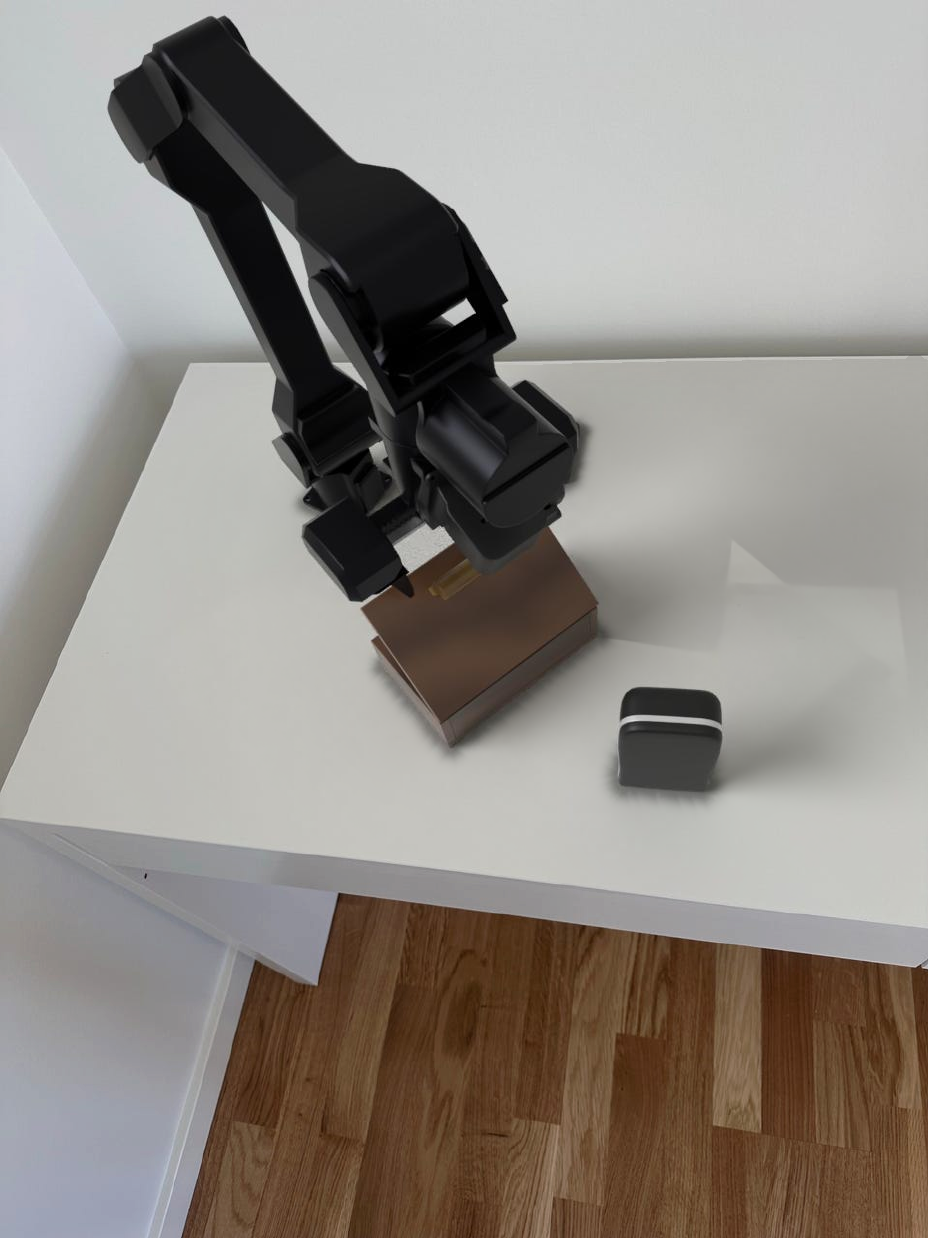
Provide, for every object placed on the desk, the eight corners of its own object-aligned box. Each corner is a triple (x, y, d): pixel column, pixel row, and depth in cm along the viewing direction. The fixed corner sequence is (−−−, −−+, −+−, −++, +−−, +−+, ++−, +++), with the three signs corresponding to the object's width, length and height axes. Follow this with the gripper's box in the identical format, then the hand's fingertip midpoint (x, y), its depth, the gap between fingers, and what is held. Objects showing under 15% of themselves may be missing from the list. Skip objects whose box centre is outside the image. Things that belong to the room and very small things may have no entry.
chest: (382, 667, 78) (370, 640, 73) (525, 563, 81) (521, 532, 77) (449, 748, 73) (440, 724, 69) (597, 635, 76) (597, 606, 72)
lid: (359, 608, 68) (369, 607, 63) (523, 493, 71) (546, 483, 66) (438, 721, 69) (454, 729, 64) (595, 603, 72) (623, 601, 67)
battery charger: (709, 747, 70) (727, 681, 61) (709, 794, 68) (727, 735, 59) (617, 741, 72) (620, 676, 62) (615, 787, 70) (617, 728, 60)
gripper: (370, 589, 47) (420, 711, 61) (640, 401, 51) (631, 554, 65) (263, 465, 53) (331, 602, 66) (516, 302, 57) (532, 463, 70)
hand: (459, 557), depth 67 cm, fingers open, 9 cm apart
